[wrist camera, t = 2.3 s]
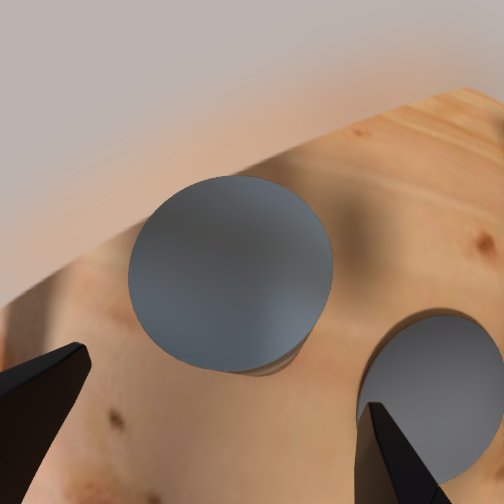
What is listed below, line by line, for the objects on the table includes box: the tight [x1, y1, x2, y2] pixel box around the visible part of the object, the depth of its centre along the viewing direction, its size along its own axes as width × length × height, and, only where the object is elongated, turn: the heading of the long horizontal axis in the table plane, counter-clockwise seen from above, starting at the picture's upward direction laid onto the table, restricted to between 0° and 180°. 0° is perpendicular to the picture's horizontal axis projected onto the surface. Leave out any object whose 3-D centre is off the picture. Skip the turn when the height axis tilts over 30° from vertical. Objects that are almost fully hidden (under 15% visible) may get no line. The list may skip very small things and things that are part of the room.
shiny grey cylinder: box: [128, 176, 333, 376], centre depth 14 cm, size 6×6×12 cm
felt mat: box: [356, 315, 504, 485], centre depth 15 cm, size 12×12×1 cm
